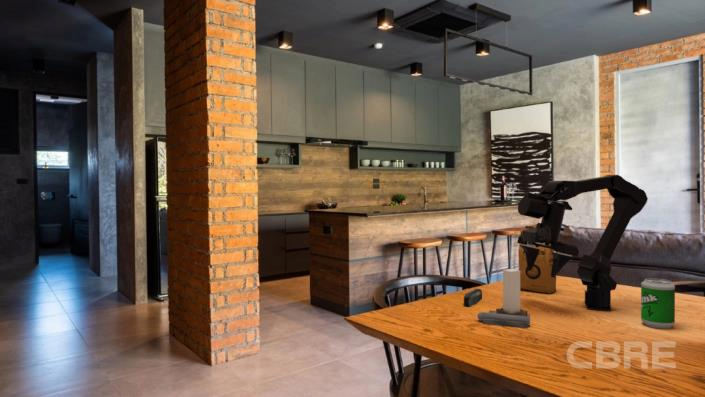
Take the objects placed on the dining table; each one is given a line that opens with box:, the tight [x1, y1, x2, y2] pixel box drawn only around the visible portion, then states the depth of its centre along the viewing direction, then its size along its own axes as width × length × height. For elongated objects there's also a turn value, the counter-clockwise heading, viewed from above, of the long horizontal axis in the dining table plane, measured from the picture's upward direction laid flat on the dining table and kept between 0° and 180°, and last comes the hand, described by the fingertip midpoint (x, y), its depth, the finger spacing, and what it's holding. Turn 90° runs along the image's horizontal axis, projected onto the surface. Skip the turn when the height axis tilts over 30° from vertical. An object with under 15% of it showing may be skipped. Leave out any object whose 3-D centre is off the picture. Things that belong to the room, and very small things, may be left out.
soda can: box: [640, 277, 676, 330], centre depth 125 cm, size 8×8×12 cm
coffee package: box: [517, 228, 557, 294], centre depth 166 cm, size 10×12×22 cm
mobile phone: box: [463, 288, 483, 308], centre depth 146 cm, size 5×3×15 cm
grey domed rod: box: [477, 311, 531, 327], centre depth 124 cm, size 13×2×2 cm, turn 66°
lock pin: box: [502, 268, 521, 313], centre depth 129 cm, size 3×3×13 cm
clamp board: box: [482, 307, 531, 329], centre depth 128 cm, size 11×14×4 cm
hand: (540, 273), depth 139 cm, fingers open, 9 cm apart
